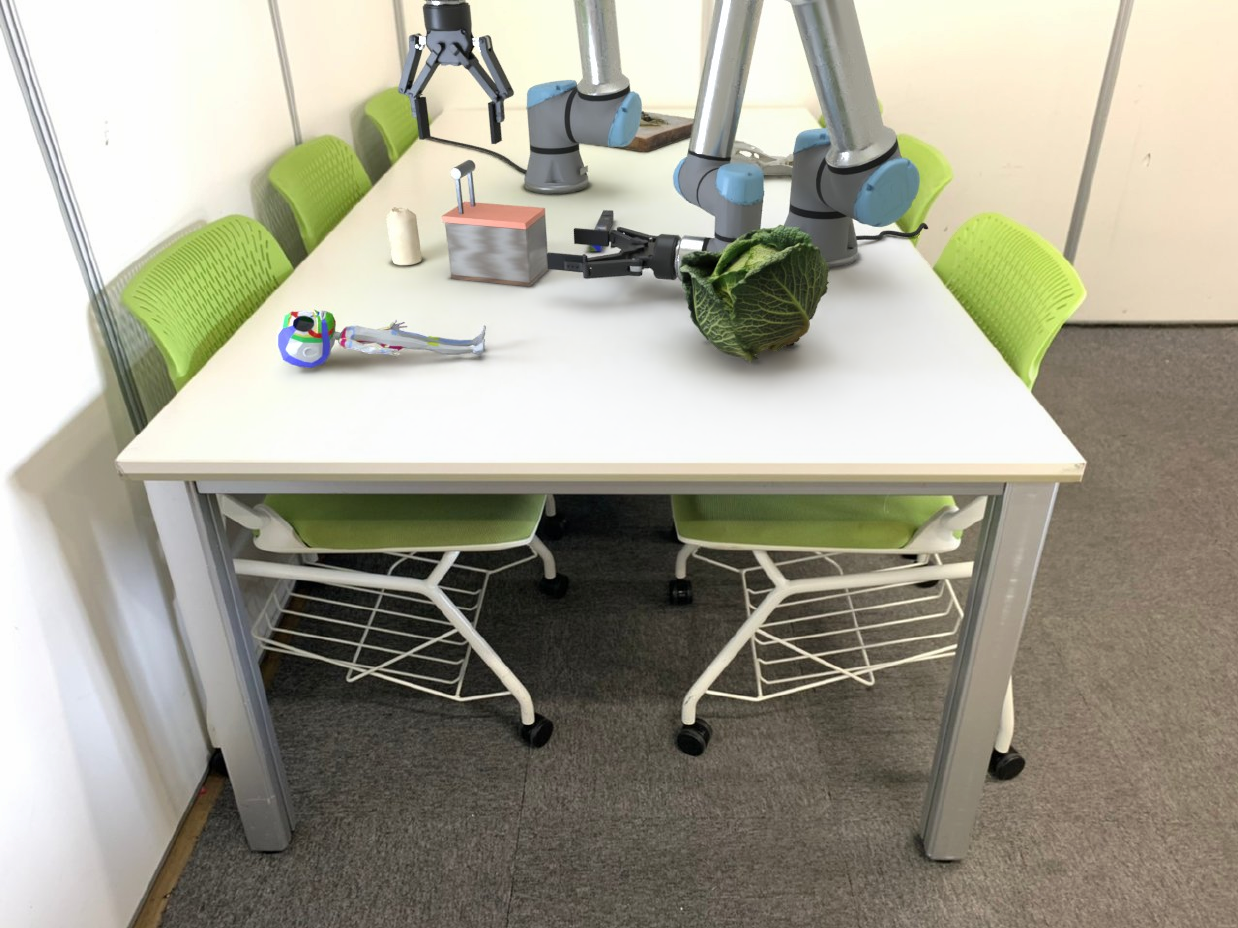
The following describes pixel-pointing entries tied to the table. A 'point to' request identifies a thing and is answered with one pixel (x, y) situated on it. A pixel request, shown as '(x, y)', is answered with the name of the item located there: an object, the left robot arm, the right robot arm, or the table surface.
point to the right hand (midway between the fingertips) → (561, 248)
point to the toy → (356, 339)
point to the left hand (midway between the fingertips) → (460, 140)
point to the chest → (498, 253)
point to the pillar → (603, 226)
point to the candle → (403, 236)
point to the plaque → (659, 131)
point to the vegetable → (755, 290)
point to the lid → (487, 207)
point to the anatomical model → (762, 159)
